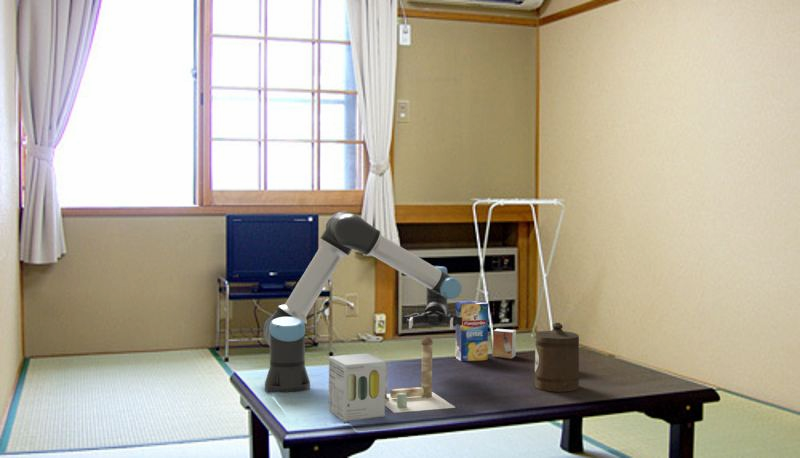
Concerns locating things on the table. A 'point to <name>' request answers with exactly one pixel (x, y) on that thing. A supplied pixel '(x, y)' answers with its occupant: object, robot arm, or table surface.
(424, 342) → the gate
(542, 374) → the wooden container
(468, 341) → the blue tall rectangular box
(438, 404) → the board
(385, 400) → the hinge post
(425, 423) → the table surface
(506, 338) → the small box
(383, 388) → the supplement box
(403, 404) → the post
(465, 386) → the table surface
